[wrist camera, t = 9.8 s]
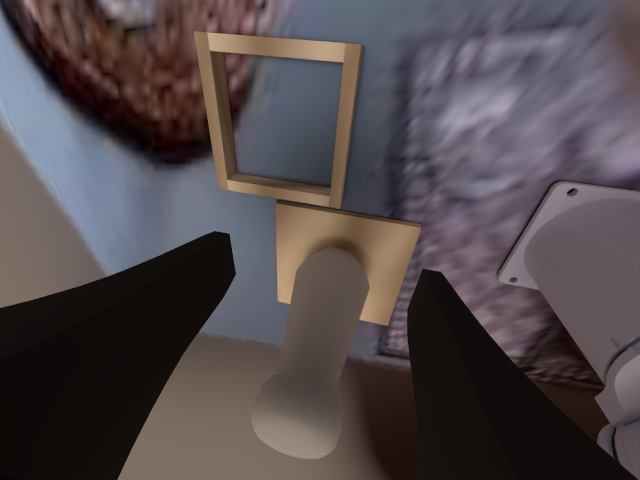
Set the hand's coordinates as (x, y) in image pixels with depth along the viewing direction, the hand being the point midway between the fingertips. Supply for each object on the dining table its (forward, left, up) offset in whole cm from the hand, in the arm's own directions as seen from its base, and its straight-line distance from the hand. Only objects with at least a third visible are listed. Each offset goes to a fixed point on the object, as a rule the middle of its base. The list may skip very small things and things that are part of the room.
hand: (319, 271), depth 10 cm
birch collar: (+5, -3, -10) cm, 12 cm away
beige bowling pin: (0, +8, -10) cm, 13 cm away
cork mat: (0, +8, -10) cm, 13 cm away
